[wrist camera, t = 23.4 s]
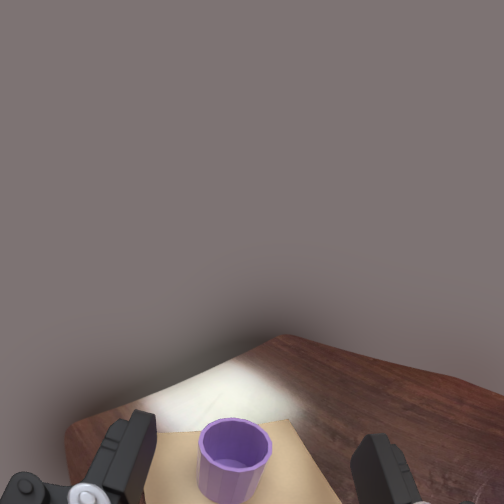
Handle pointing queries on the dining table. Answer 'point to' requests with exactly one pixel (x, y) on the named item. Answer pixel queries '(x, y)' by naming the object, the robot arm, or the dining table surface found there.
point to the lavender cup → (231, 460)
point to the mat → (272, 483)
